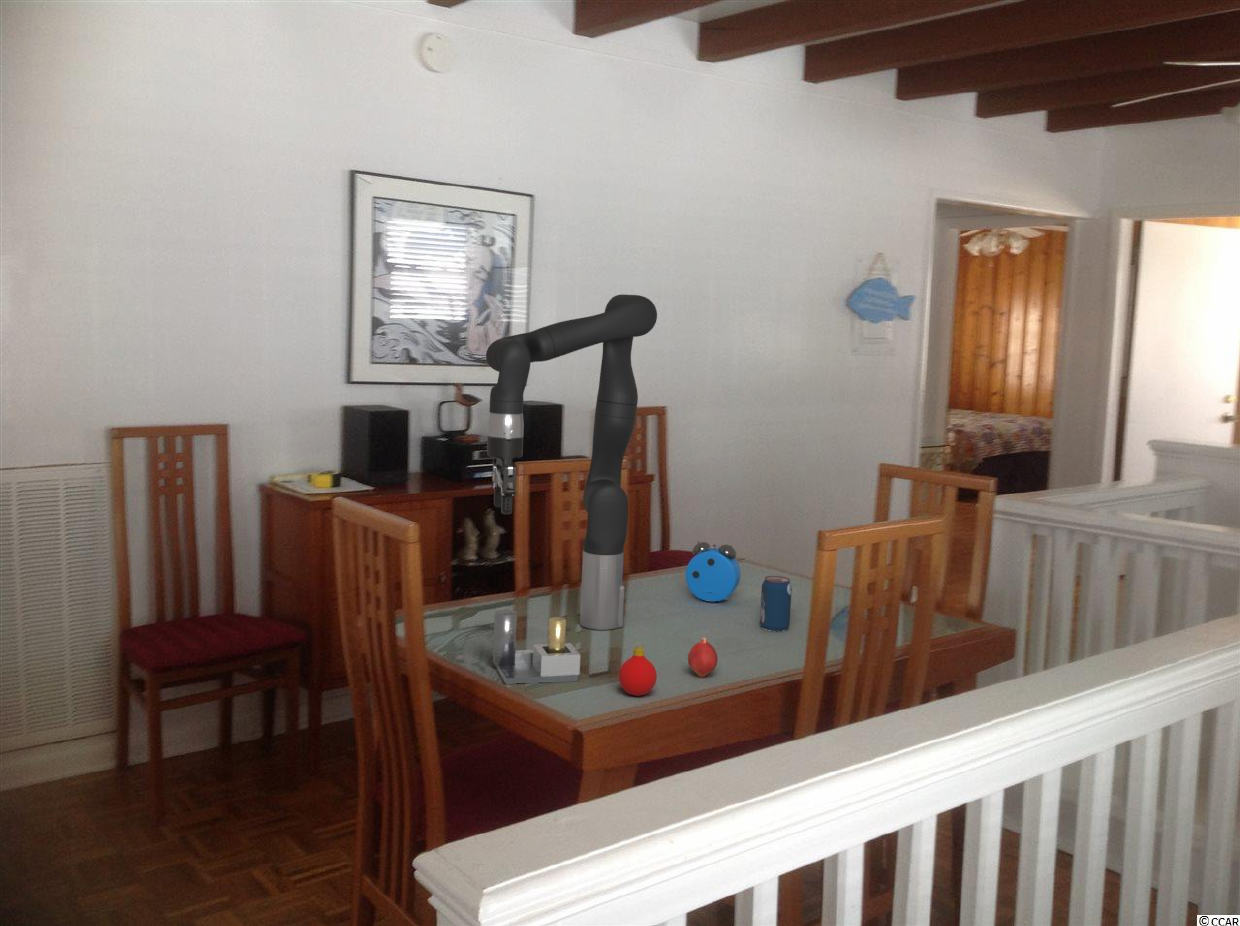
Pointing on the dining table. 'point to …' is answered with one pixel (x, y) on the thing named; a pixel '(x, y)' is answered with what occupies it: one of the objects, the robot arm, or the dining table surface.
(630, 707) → the dining table surface
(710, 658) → the onion
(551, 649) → the gold cylinder
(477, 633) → the dining table surface
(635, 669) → the christmas ornament
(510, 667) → the grey desk organizer
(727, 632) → the dining table surface
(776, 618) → the soda can
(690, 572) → the alarm clock
